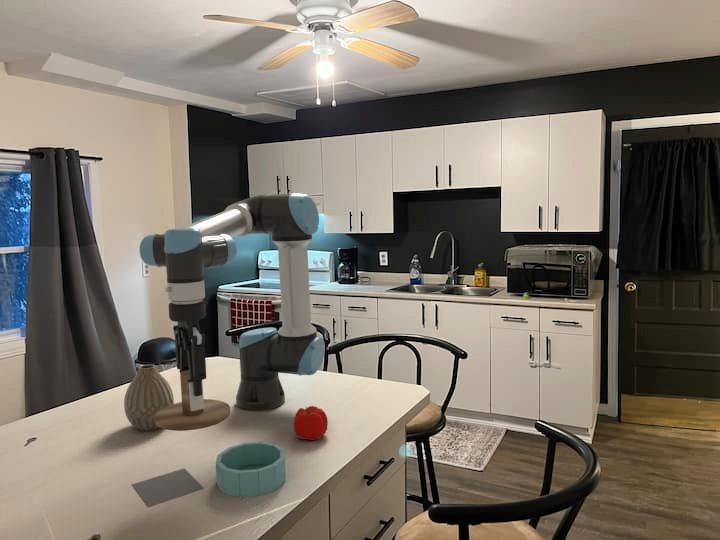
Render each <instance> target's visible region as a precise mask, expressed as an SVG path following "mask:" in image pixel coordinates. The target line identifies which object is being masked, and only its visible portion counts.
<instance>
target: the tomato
mask: <svg viewBox="0 0 720 540" xmlns="http://www.w3.org/2000/svg"><path fill="white" fill-rule="evenodd" d="M328 423H329V421H328V416H327V414H326V412H325V411H324V410H323V409H322V408H319V407H318V406H315V405H310V406H305V409H304V408H303V407H302V408H301V407H300V408H298V410H297V411H296V413H295V416H294V418H293V430H294V434H295V436H297V437H298V438H300V439H302V440H309V441H316V440H318V439H320V438H321V437H322V436H324V435H325V434H326V432H327V430H328Z"/></svg>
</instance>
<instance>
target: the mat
mask: <svg viewBox="0 0 720 540" xmlns="http://www.w3.org/2000/svg"><path fill="white" fill-rule="evenodd" d="M131 486H132V488H133V489H134V491H135V492H136V493H137V495H138V496H139V497H140V498H141V500H142V502H143V503H144V505H146V507H147V508H151V507H153V506H156V505H159V504H162V503H165V502H168V501H171V500H174V499H177V498H180V497H183V496H186V495H189V494H192V493H195V492H198V491H201V490H205V488H204V487H203V486H202V485H201V483H199V482H198V480H197V479H195V477H194V476H193V475H191V473H190V472H189V471H188V470H187V469H186V468H180V469H178V470H173V471H171V472H168V473H165V474H161V475H158V476H154V477H151V478H149V479H144V480H141V481H138V482H136V483H132V484H131Z"/></svg>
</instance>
